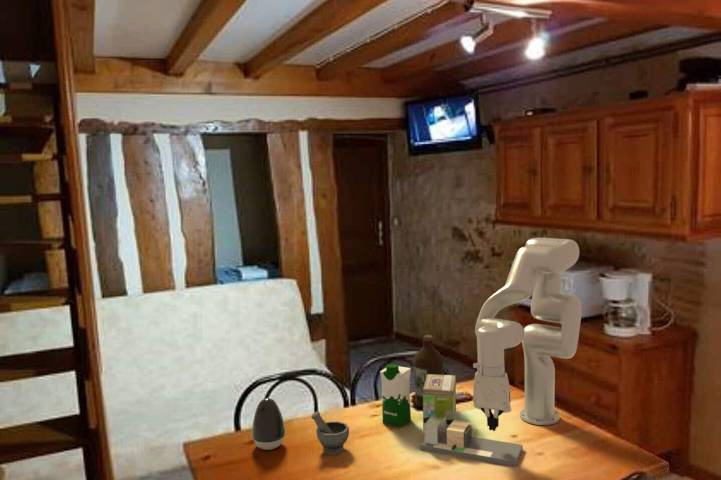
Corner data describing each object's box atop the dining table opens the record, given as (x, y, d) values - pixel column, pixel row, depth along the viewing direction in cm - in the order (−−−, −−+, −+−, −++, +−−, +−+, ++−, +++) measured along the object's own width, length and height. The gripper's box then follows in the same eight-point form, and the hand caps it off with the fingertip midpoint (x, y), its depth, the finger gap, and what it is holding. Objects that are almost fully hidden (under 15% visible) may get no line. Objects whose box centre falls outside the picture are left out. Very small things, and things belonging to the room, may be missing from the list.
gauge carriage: (453, 435, 182) (453, 420, 181) (472, 439, 179) (472, 423, 179) (444, 449, 173) (444, 432, 173) (463, 452, 171) (463, 436, 170)
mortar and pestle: (350, 442, 183) (348, 405, 182) (349, 456, 174) (348, 417, 173) (313, 443, 184) (312, 406, 182) (311, 457, 174) (309, 418, 173)
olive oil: (430, 396, 219) (428, 330, 216) (450, 404, 210) (449, 336, 207) (408, 403, 213) (406, 335, 210) (427, 412, 204) (426, 342, 201)
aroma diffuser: (246, 451, 179) (243, 403, 178) (263, 436, 189) (260, 391, 187) (275, 456, 176) (273, 407, 174) (291, 441, 186) (289, 394, 184)
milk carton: (378, 424, 196) (377, 365, 194) (392, 414, 204) (390, 357, 201) (402, 429, 191) (400, 369, 189) (414, 419, 199) (413, 361, 197)
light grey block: (434, 431, 185) (433, 413, 185) (446, 433, 184) (446, 415, 183) (424, 443, 177) (424, 424, 177) (437, 446, 176) (437, 426, 175)
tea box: (454, 435, 186) (453, 390, 184) (422, 433, 188) (421, 388, 186) (456, 416, 200) (455, 374, 199) (426, 414, 202) (426, 372, 201)
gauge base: (432, 434, 187) (432, 429, 187) (522, 449, 175) (522, 444, 175) (420, 449, 177) (420, 444, 177) (515, 466, 165) (515, 461, 165)
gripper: (462, 370, 171) (464, 430, 173) (514, 376, 164) (516, 438, 167) (469, 361, 177) (471, 419, 180) (520, 366, 171) (521, 426, 174)
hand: (493, 428), depth 173 cm, fingers closed
